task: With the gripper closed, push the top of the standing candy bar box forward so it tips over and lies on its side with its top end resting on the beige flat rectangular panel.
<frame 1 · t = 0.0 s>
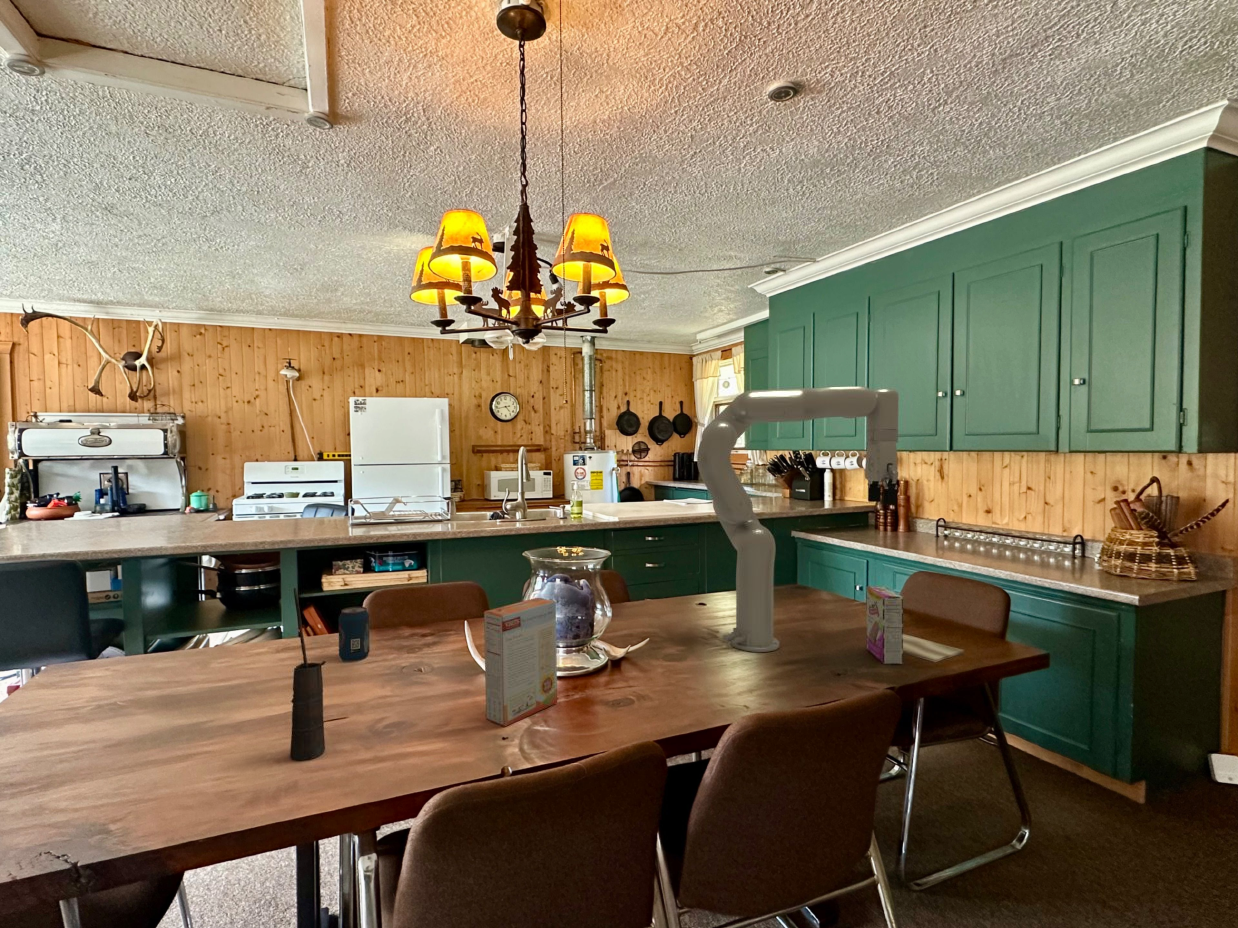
hand: (881, 503, 159), 37 cm above the table, tool pointing down, fingers open, 9 cm apart
candy bar box: (883, 657, 152), on the table
beige flat rectangular panel: (915, 647, 159), on the table
soda can: (354, 658, 151), on the table
butter churn: (315, 752, 104), on the table
cracker box: (521, 712, 120), on the table
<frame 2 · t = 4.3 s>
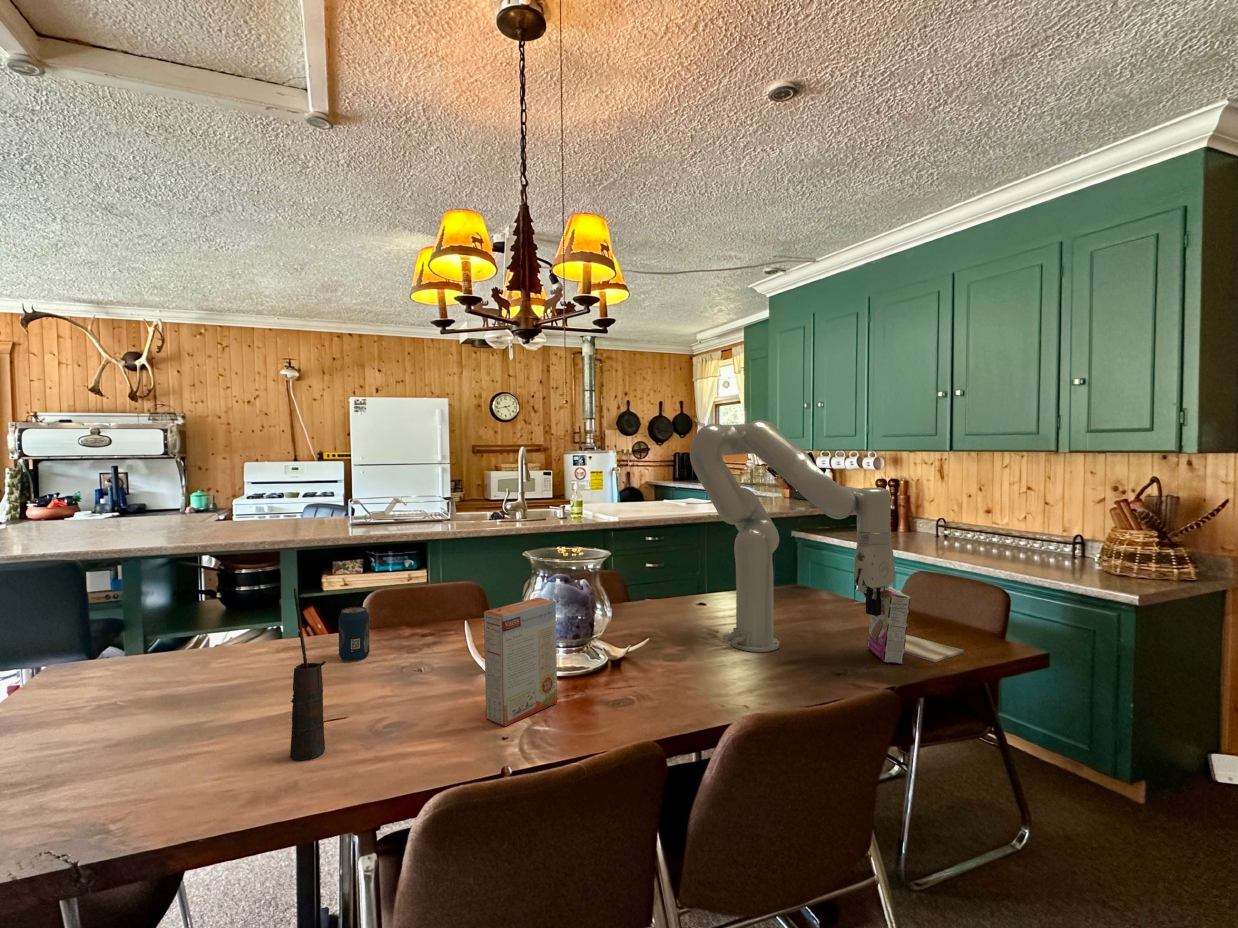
hand: (873, 614, 149), 11 cm above the table, tool pointing down, fingers closed
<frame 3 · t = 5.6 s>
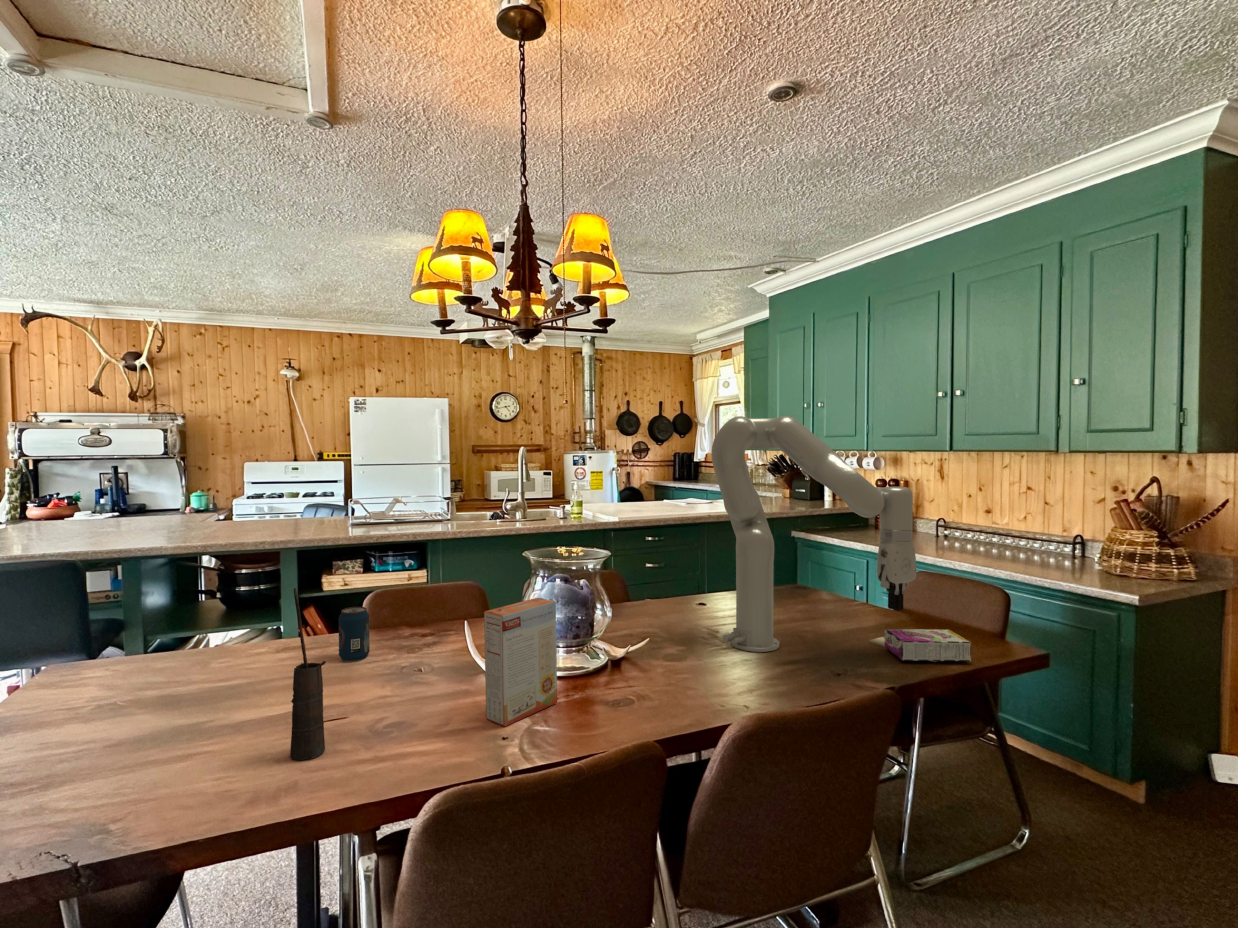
hand: (895, 608, 154), 11 cm above the table, tool pointing down, fingers closed
candy bar box: (891, 643, 152), point 3 cm above the table, touching beige flat rectangular panel
everything else where it was.
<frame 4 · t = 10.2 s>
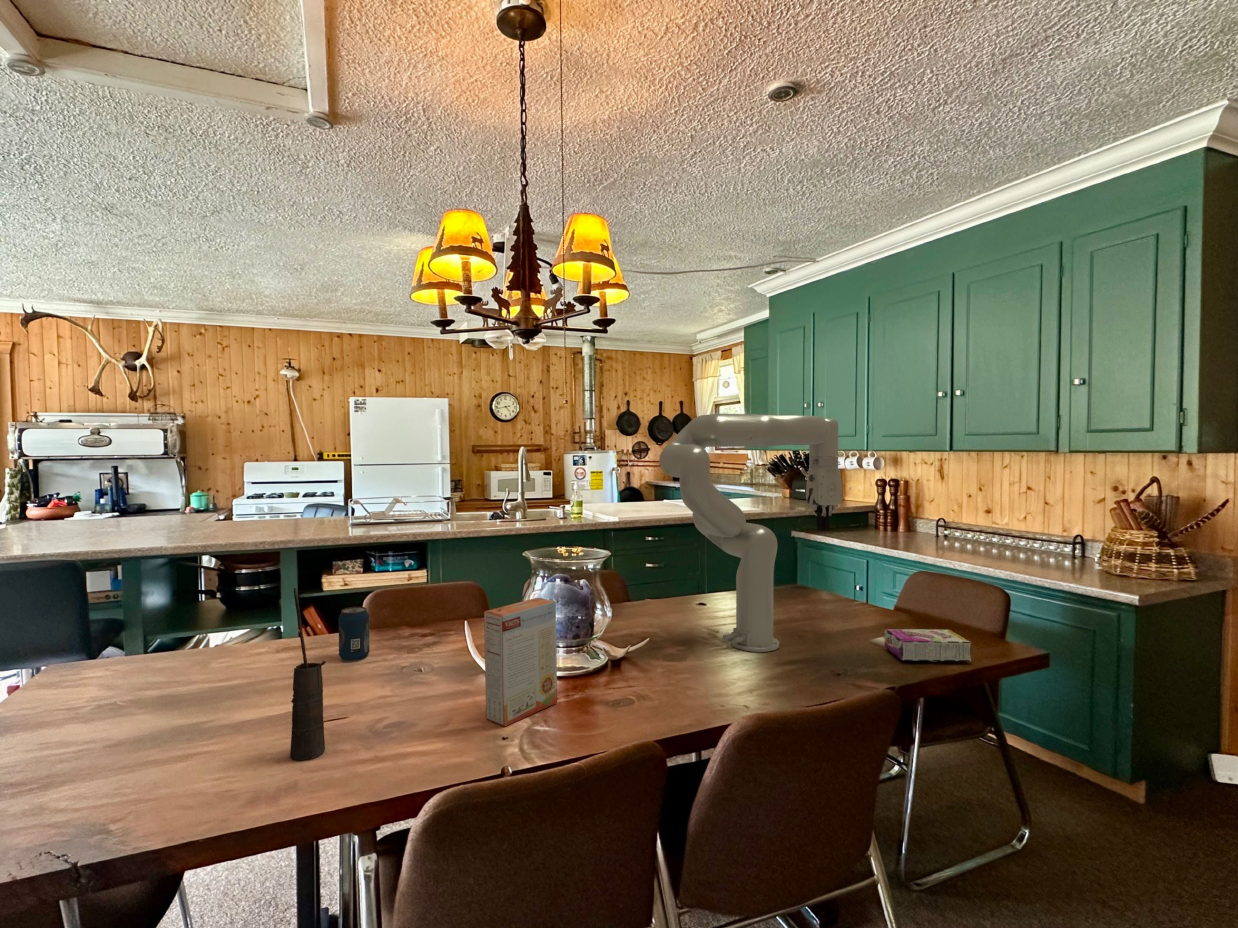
hand: (823, 530, 169), 29 cm above the table, tool pointing down, fingers closed
nothing on the table moved.
at the end: candy bar box tilted 90°; candy bar box inside the target area (3.0 cm from its centre), point 3.1 cm above the table; candy bar box touching beige flat rectangular panel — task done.
